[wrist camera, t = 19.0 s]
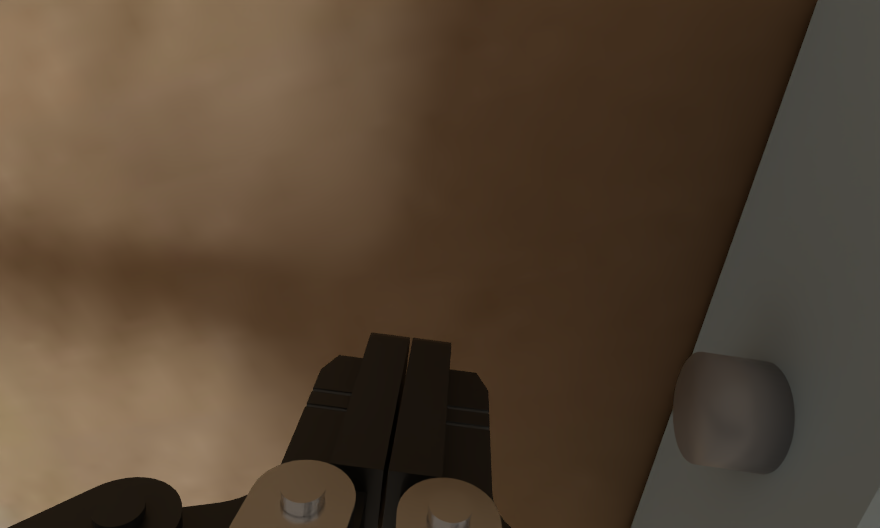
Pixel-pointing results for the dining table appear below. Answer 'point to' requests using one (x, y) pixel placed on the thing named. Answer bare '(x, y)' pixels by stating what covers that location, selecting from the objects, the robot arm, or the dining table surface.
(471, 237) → the dining table surface
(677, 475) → the grey drawer
